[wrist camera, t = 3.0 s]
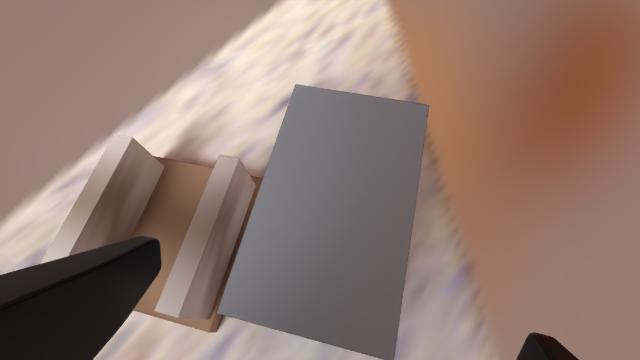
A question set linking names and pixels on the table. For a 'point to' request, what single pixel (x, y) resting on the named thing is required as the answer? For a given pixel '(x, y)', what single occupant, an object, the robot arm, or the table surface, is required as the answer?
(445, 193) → the table surface
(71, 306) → the robot arm
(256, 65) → the table surface
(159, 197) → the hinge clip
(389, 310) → the gray rectangular block
